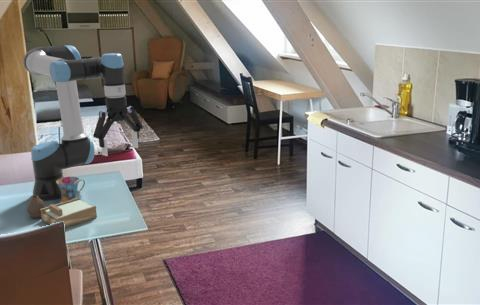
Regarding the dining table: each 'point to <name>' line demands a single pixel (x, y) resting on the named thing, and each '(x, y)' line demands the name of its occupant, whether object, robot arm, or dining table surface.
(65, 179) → the mug
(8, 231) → the dining table surface
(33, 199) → the vase
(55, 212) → the lid
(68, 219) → the box
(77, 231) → the dining table surface
